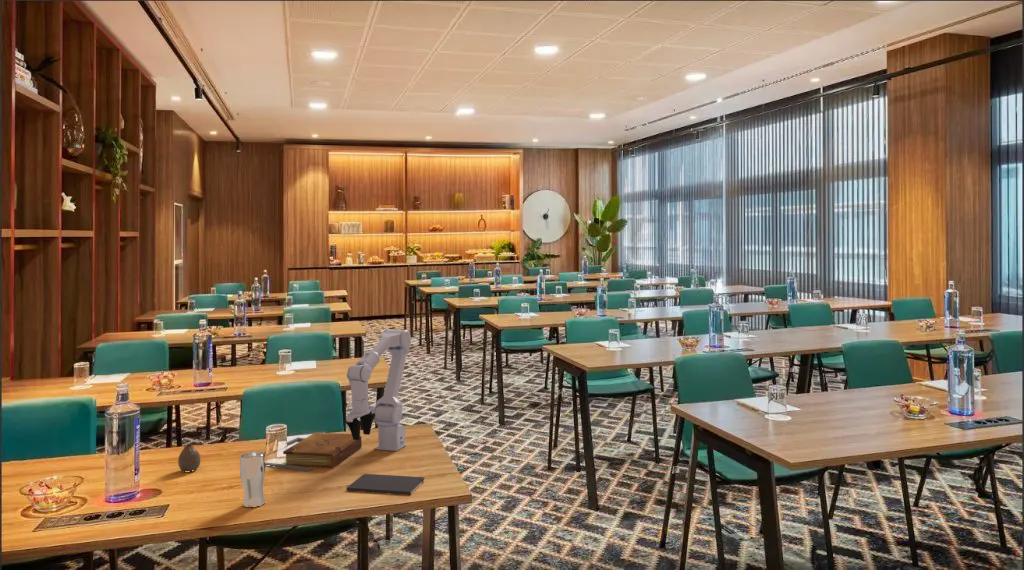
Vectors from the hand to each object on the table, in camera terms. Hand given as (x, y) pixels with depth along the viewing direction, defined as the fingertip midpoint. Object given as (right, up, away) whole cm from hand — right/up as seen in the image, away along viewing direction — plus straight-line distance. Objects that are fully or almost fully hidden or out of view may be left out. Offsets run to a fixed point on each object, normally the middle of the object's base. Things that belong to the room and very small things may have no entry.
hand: (361, 437), depth 242 cm
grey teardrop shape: (-58, -11, -5) cm, 59 cm away
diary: (-15, -9, +6) cm, 18 cm away
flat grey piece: (-23, -8, +9) cm, 27 cm away
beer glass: (-24, -12, -37) cm, 46 cm away
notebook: (+13, -11, -24) cm, 30 cm away
